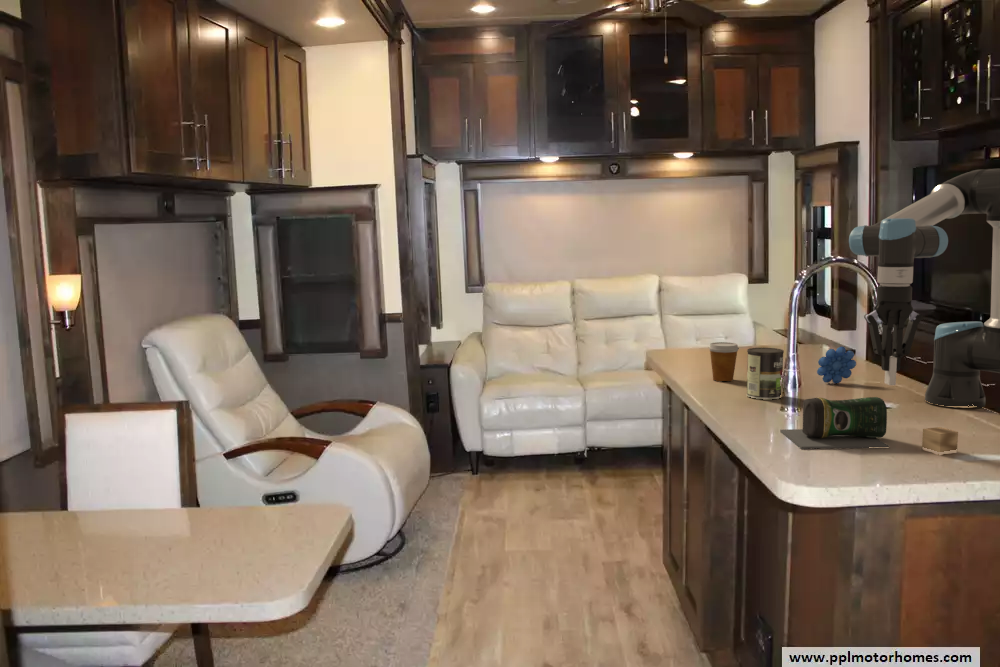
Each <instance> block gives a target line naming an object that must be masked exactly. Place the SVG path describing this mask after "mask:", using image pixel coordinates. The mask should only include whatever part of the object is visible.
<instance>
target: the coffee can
mask: <svg viewBox="0 0 1000 667" xmlns="http://www.w3.org/2000/svg"><path fill="white" fill-rule="evenodd" d="M746 352H747V370H746V372H747V373H746V397H747V396H748V397H747V398H749V397H751V398H750V399H752V398H756V399H755V400H759V399H763V401H773V400H772V399H777V400H780V399H779V398H780V395H781V386H780V380H781V375H782V372H783V373H784V352H785V351H784V349H781V348H775V347H751V348H747V350H746Z"/></svg>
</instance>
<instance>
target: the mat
mask: <svg viewBox="0 0 1000 667" xmlns="http://www.w3.org/2000/svg"><path fill="white" fill-rule="evenodd" d="M802 429H803V428H802ZM802 429H801V428H799V429H798V428H797V429H795V428H793V429H789V428H788V429H780V434H782V435H783V436H785V438H787V439H788V440H790V442H792V443H793V444H794V443H795V444H794V445H795V446H797V447H798V446H799V447H800V449H801V450H809V449H808V448H812V449H811V450H814V449H813V448H816V449H815V450H818V449H817V448H869V447H889V448H890V445H889V444H887V443H885V442H884V441H882V440H880V438H871V437H860V436H847V435H833V436H829V437H826V438H817V437H810V436H807V435H805V434H804V433H803V432H802ZM799 447H798V448H799Z"/></svg>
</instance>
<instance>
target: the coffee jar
mask: <svg viewBox="0 0 1000 667" xmlns="http://www.w3.org/2000/svg"><path fill="white" fill-rule="evenodd" d="M887 425H888V408H887V404H886V402H885V401H884V399H883V398H881V397H877V396H872V397H871V396H868V397H859V398H851V399H841V400H839V399H837V400H836V399H835V400H834V399H833V400H832V399H827V398H824V397H818V396H817V397H812V398H806V399H803V400H802V432H803V433H804V434H805V435H807V436H810V437H817V438H826V437H829V436H833V435H847V436H860V437H871V438H877V439H882V438H883V437H884V436H885V435H887V434H886V433H887V429H888V428H887V427H888V426H887Z"/></svg>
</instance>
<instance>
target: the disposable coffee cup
mask: <svg viewBox="0 0 1000 667" xmlns="http://www.w3.org/2000/svg"><path fill="white" fill-rule="evenodd" d="M708 349H709V352H710V353H709V354H710V361H711V363H710V364H711V372H712V380H713V381H714V380H716V381H715V382H718V381H731V382H733V381H734V377H735V376H734V375H735V371H736V363H737V355H738V351H739V346H738V343H735V342H727V341H716V342H710V344H709V347H708ZM732 380H733V381H732Z"/></svg>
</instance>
